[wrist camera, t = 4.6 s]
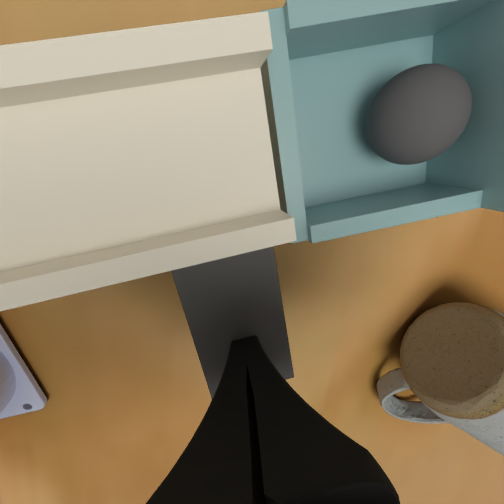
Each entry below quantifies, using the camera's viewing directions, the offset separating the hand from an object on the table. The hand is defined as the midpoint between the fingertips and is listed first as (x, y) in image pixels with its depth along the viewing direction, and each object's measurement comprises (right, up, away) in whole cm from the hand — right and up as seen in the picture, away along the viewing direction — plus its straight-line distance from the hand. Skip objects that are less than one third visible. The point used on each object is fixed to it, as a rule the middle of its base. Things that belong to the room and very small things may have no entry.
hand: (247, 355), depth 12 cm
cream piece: (-5, +4, -1) cm, 7 cm away
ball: (+7, +11, 0) cm, 13 cm away
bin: (+5, +11, +2) cm, 13 cm away
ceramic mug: (+14, -3, +9) cm, 17 cm away
